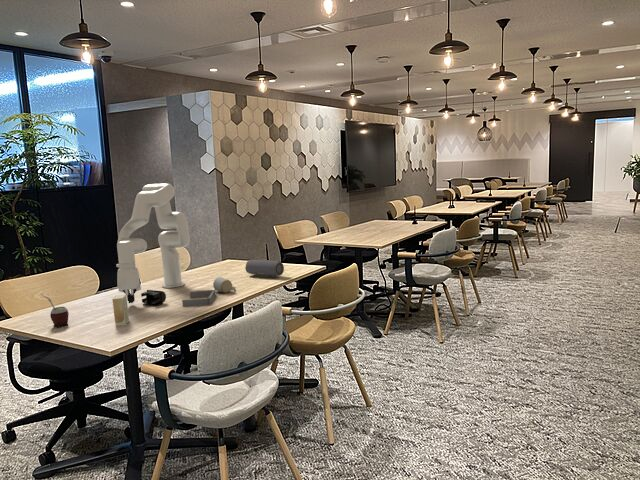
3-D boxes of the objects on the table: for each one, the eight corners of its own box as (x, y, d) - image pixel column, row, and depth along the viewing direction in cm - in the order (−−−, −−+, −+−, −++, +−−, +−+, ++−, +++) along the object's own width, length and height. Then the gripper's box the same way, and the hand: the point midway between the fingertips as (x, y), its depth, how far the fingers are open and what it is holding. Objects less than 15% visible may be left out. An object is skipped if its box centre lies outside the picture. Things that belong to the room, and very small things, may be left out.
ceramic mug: (221, 294, 264) (220, 280, 263) (213, 292, 270) (212, 278, 269) (238, 290, 272) (238, 276, 271) (230, 288, 278) (229, 274, 277)
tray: (190, 297, 263) (190, 291, 262) (215, 295, 263) (215, 289, 263) (182, 306, 245) (182, 300, 244) (210, 304, 245) (209, 298, 245)
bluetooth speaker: (285, 276, 301) (284, 259, 300) (275, 279, 294) (274, 262, 292) (255, 273, 314) (254, 257, 312) (245, 276, 306) (244, 260, 305)
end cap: (167, 303, 254) (165, 289, 253) (156, 306, 248) (154, 293, 247) (152, 301, 259) (151, 288, 258) (141, 305, 253) (140, 291, 252)
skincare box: (119, 322, 224) (116, 295, 223) (129, 321, 225) (126, 294, 223) (115, 326, 218) (111, 298, 216) (125, 325, 218) (122, 297, 217)
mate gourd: (72, 323, 227) (68, 290, 225) (64, 328, 219) (60, 294, 217) (55, 324, 227) (51, 291, 225) (46, 329, 219) (42, 295, 217)
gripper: (109, 268, 246) (113, 305, 248) (140, 266, 247) (144, 303, 249) (114, 265, 253) (118, 301, 256) (145, 263, 254) (148, 299, 256)
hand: (131, 302), depth 252 cm, fingers closed
